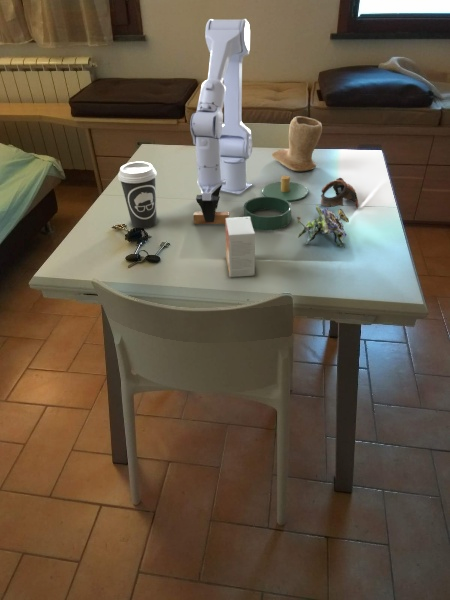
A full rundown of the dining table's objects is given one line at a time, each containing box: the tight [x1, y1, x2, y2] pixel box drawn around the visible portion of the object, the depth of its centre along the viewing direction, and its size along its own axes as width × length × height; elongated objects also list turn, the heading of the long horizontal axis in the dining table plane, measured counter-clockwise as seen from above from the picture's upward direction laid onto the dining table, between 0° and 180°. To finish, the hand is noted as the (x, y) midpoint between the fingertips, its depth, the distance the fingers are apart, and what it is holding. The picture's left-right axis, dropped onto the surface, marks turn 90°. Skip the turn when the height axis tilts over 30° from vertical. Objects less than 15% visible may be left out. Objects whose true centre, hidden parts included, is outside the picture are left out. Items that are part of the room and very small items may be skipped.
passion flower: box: [296, 204, 350, 248], centre depth 112 cm, size 11×11×12 cm
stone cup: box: [271, 115, 323, 172], centre depth 151 cm, size 15×12×15 cm
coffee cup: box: [117, 161, 158, 229], centre depth 122 cm, size 10×10×15 cm
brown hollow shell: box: [320, 177, 359, 210], centre depth 129 cm, size 12×10×8 cm
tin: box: [242, 196, 293, 231], centre depth 124 cm, size 12×12×4 cm
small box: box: [224, 216, 256, 278], centre depth 104 cm, size 8×6×10 cm
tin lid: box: [261, 175, 309, 203], centre depth 136 cm, size 13×13×5 cm
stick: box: [193, 211, 230, 225], centre depth 124 cm, size 9×2×3 cm, turn 85°
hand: (211, 214), depth 123 cm, fingers open, 7 cm apart
